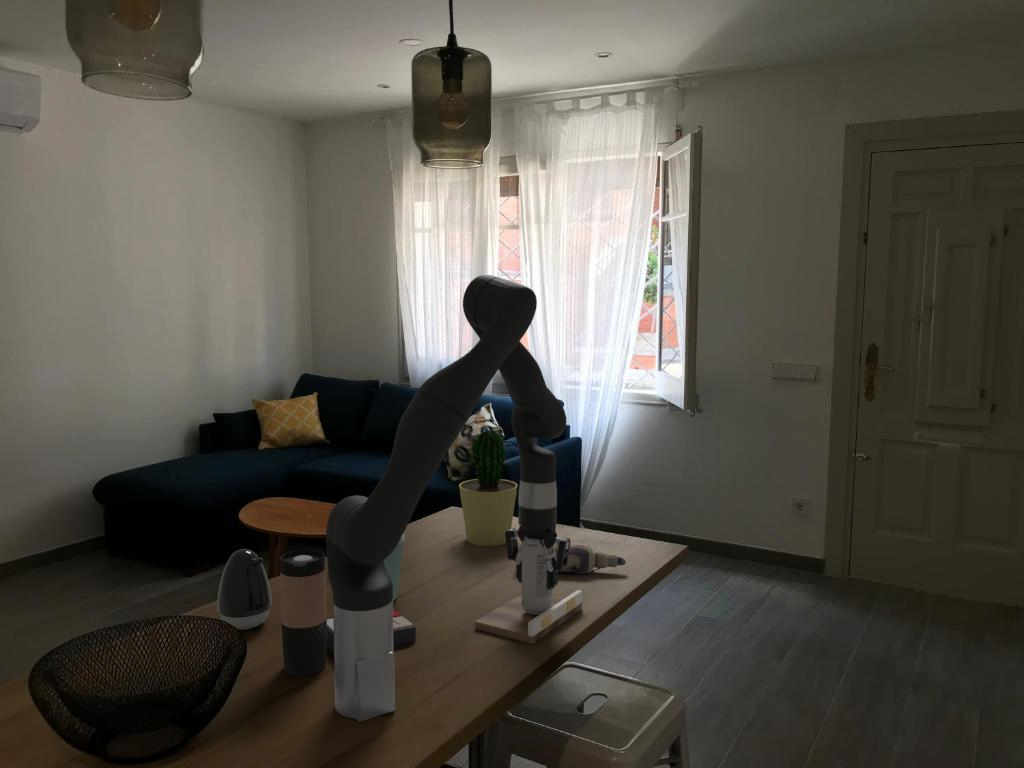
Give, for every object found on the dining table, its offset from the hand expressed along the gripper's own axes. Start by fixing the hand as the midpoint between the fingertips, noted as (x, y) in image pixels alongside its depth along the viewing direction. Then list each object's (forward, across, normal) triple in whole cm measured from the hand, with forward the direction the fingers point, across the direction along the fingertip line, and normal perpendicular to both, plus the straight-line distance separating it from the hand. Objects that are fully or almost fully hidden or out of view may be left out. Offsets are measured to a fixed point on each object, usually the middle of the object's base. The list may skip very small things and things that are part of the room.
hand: (536, 584), depth 162 cm
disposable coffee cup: (+8, +34, +8) cm, 36 cm away
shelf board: (+7, +2, 0) cm, 8 cm away
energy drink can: (+5, 0, 0) cm, 5 cm away
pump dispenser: (+8, +47, +33) cm, 58 cm away
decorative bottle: (+8, +9, -28) cm, 31 cm away
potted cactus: (+8, +38, -40) cm, 55 cm away
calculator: (+8, +22, +25) cm, 34 cm away
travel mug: (+8, +24, +39) cm, 47 cm away
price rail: (+6, -5, 0) cm, 8 cm away
